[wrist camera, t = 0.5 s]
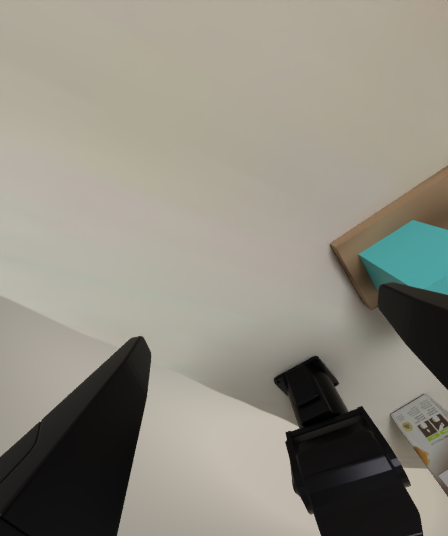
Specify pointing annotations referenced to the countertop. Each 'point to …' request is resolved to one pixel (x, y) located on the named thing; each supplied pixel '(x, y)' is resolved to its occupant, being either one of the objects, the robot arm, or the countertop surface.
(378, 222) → the walnut board
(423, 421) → the coffee box
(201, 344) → the countertop surface
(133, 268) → the countertop surface
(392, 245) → the teal block
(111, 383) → the robot arm
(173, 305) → the countertop surface
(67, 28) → the countertop surface
